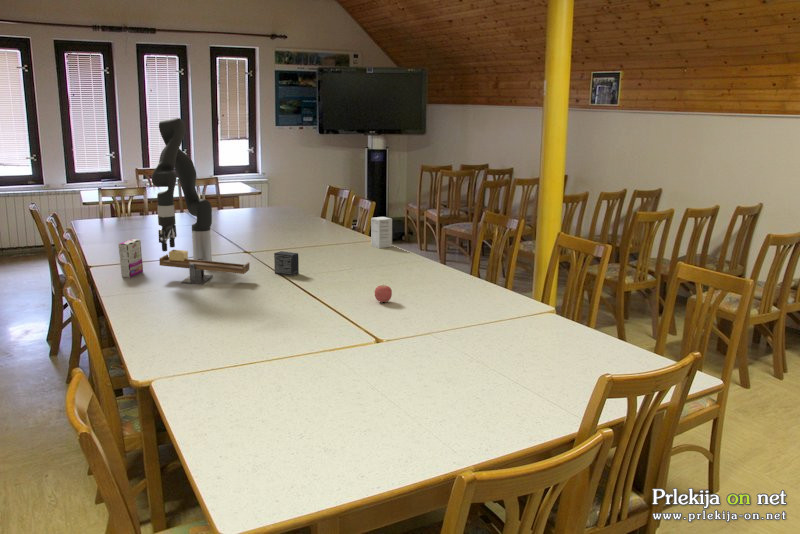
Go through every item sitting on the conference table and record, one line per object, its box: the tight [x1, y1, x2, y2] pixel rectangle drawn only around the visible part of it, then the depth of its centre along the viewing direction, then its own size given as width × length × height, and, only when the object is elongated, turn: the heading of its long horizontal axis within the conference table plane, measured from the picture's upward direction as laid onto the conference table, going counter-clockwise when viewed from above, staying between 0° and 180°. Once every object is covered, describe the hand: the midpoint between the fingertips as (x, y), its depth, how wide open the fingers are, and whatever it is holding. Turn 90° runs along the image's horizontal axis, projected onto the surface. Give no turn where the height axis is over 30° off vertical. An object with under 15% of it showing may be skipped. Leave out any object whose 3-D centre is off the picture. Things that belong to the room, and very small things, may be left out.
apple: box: [374, 283, 393, 303], centre depth 290 cm, size 7×7×8 cm
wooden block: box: [168, 249, 189, 263], centre depth 317 cm, size 5×5×7 cm
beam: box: [159, 253, 251, 275], centre depth 317 cm, size 8×40×4 cm, turn 85°
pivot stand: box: [180, 259, 214, 286], centre depth 318 cm, size 14×10×9 cm
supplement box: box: [370, 216, 393, 249], centre depth 399 cm, size 10×9×17 cm
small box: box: [273, 250, 300, 277], centre depth 333 cm, size 11×6×10 cm, turn 65°
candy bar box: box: [118, 238, 144, 278], centre depth 324 cm, size 11×5×16 cm, turn 168°
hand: (168, 249), depth 317 cm, fingers open, 8 cm apart
